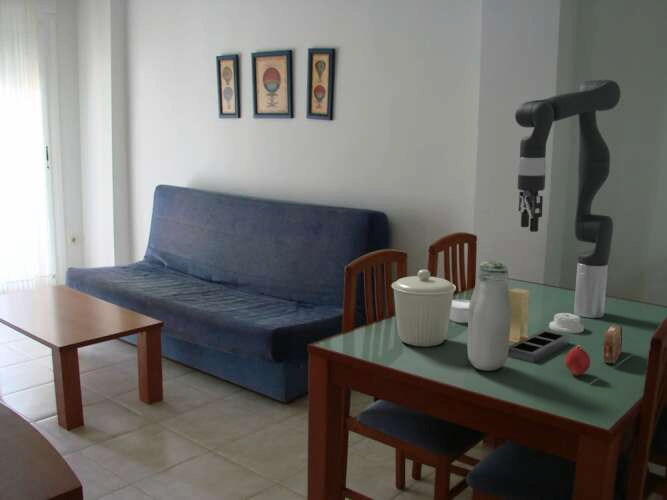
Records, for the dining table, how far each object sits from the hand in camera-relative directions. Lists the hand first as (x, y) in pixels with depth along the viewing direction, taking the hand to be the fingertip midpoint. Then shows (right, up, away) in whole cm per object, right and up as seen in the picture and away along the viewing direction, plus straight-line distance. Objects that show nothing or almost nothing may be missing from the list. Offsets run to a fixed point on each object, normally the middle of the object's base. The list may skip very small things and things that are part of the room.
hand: (529, 229), depth 187 cm
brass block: (-4, -32, 0) cm, 32 cm away
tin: (+17, -35, -16) cm, 42 cm away
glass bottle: (-18, -37, -24) cm, 47 cm away
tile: (-4, -32, 0) cm, 32 cm away
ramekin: (-15, -29, +20) cm, 38 cm away
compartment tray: (0, -34, -9) cm, 35 cm away
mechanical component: (+15, -31, +10) cm, 36 cm away
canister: (-32, -33, -2) cm, 45 cm away
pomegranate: (+3, -37, -28) cm, 47 cm away
